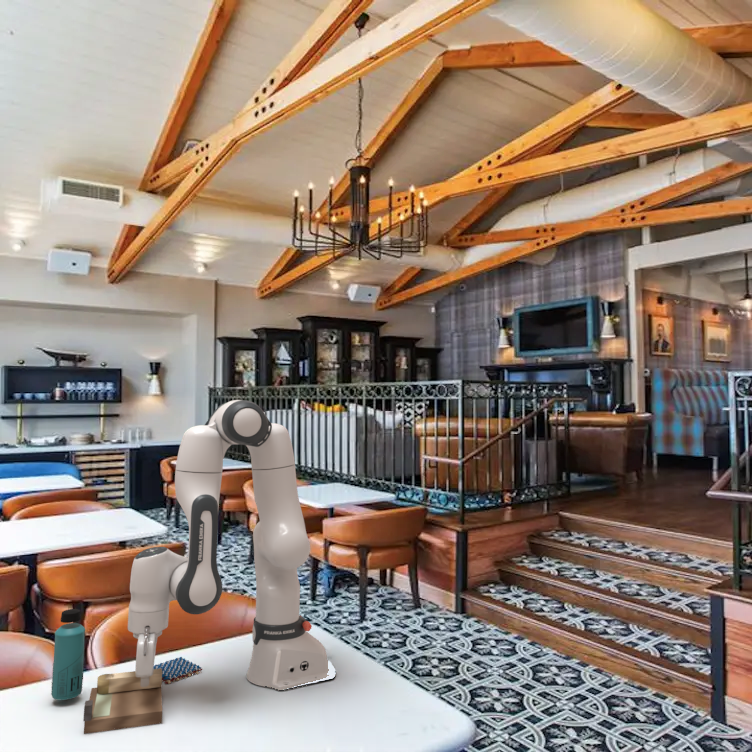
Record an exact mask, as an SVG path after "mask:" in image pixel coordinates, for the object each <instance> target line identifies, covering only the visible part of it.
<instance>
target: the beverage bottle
mask: <svg viewBox="0 0 752 752" xmlns="http://www.w3.org/2000/svg"><path fill="white" fill-rule="evenodd" d="M81 617H82V616H81V609H78V608H70V609H69V608H68V609H65V610H63V611H62V612H61V616H60V622H61V623H64V624H62V625H61V626H60V627H58V628H57V629H56V630H55V632H54V648H53V649H54V650H53V662H52V671H51V675H52V676H51V685H50V686H51V693H50V695H51V697H52V698H53V699H54V700H56V701H64V700H65V701H66V700H71V699H74V698H77V697H78V696H80V695H81V693H82V691H83V684H84V683H83V681H84V673H85V672H84V667H85V666H84V656H85V647H86V643H85V635H86V634H85V632H86V628H85V627H84V626H83V625H82V624H80V623H77V622H79V621H80V620H81V619H82V618H81Z"/></svg>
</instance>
